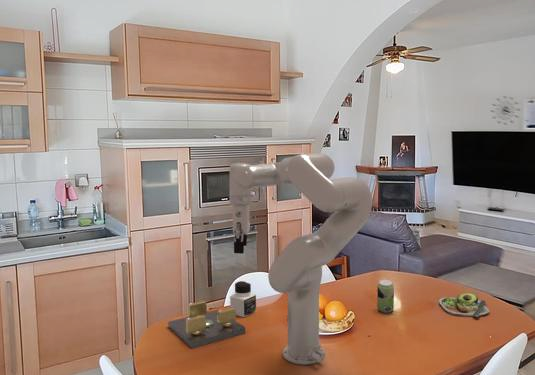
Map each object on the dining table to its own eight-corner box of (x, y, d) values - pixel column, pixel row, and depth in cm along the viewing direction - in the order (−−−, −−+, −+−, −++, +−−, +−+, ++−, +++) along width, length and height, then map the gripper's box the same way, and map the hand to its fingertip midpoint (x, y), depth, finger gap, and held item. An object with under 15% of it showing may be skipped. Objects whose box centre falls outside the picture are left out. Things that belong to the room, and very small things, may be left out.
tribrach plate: (245, 333, 157) (245, 322, 157) (191, 348, 147) (191, 337, 146) (218, 314, 174) (218, 305, 174) (168, 327, 163) (167, 317, 163)
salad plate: (499, 321, 165) (500, 309, 164) (447, 320, 167) (448, 307, 166) (482, 302, 184) (482, 291, 183) (435, 300, 186) (436, 289, 185)
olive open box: (207, 316, 166) (207, 301, 166) (191, 320, 163) (190, 305, 162) (203, 313, 169) (203, 298, 168) (187, 317, 166) (186, 302, 165)
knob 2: (237, 324, 159) (236, 308, 159) (220, 328, 156) (220, 312, 155) (232, 321, 162) (232, 305, 161) (216, 325, 159) (215, 309, 158)
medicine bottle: (244, 318, 170) (243, 286, 169) (230, 313, 175) (229, 283, 173) (256, 312, 176) (256, 281, 175) (242, 308, 180) (241, 278, 179)
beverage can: (392, 307, 178) (392, 277, 177) (395, 315, 171) (396, 284, 170) (375, 307, 179) (376, 277, 177) (378, 314, 172) (378, 283, 170)
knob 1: (207, 332, 153) (206, 315, 152) (189, 337, 150) (188, 320, 149) (202, 329, 156) (202, 312, 155) (185, 333, 152) (184, 316, 152)
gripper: (249, 204, 146) (248, 256, 149) (254, 196, 163) (253, 242, 166) (225, 204, 147) (225, 256, 149) (233, 195, 164) (233, 242, 166)
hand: (240, 249), depth 158 cm, fingers open, 9 cm apart
